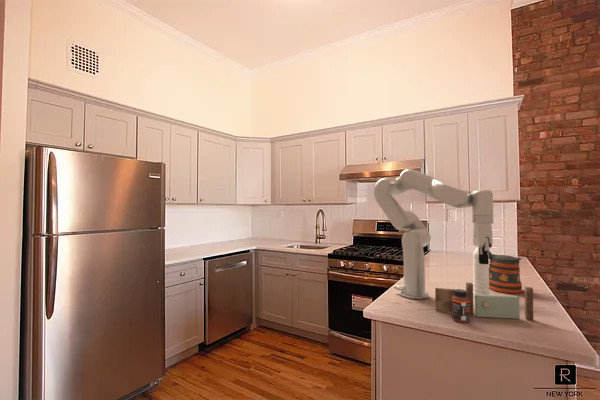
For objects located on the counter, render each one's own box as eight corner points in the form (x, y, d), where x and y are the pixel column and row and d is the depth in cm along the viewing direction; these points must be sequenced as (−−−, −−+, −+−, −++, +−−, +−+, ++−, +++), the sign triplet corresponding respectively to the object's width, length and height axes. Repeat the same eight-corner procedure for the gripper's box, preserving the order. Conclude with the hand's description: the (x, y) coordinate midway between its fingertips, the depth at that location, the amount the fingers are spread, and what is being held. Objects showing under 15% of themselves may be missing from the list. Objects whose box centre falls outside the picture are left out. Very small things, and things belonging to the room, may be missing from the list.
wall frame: (436, 311, 127) (435, 282, 127) (435, 309, 130) (435, 280, 130) (534, 321, 116) (533, 288, 116) (531, 318, 119) (530, 286, 119)
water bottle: (486, 300, 141) (485, 244, 142) (471, 296, 146) (470, 243, 147) (493, 296, 147) (492, 243, 147) (478, 293, 152) (477, 241, 152)
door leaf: (478, 317, 119) (477, 296, 119) (475, 315, 122) (475, 294, 122) (521, 319, 117) (521, 298, 117) (517, 317, 120) (517, 296, 120)
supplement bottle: (469, 324, 113) (468, 293, 114) (451, 321, 117) (450, 291, 117) (470, 319, 118) (469, 289, 119) (452, 316, 122) (452, 287, 122)
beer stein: (477, 289, 158) (476, 250, 158) (479, 283, 170) (478, 246, 171) (523, 295, 148) (522, 253, 148) (521, 288, 160) (521, 249, 160)
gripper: (468, 218, 138) (468, 260, 138) (478, 220, 124) (479, 267, 124) (486, 218, 137) (487, 260, 136) (499, 220, 122) (500, 267, 122)
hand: (483, 263), depth 130 cm, fingers closed
